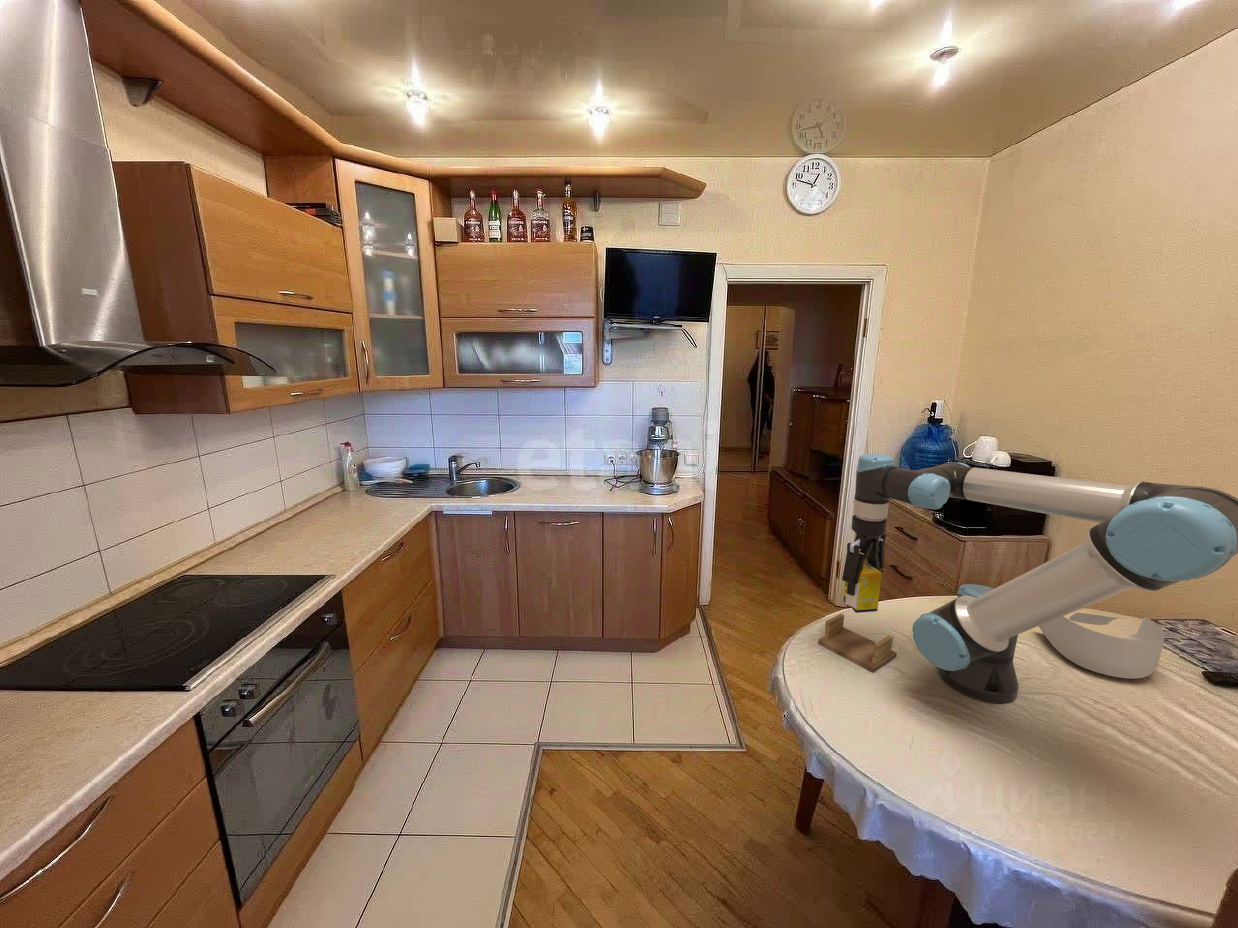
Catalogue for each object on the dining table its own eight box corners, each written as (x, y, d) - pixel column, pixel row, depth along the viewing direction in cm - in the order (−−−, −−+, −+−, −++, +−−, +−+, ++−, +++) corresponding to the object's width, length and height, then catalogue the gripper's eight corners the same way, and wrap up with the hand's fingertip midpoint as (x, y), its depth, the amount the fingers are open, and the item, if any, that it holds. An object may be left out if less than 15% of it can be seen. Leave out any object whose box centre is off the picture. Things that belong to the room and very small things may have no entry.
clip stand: (896, 656, 122) (899, 635, 121) (873, 672, 116) (875, 650, 115) (841, 630, 134) (843, 610, 133) (818, 643, 128) (819, 622, 127)
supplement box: (842, 601, 125) (846, 562, 123) (864, 599, 126) (868, 561, 123) (855, 613, 119) (859, 573, 117) (878, 611, 120) (882, 571, 117)
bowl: (1064, 675, 114) (1073, 630, 111) (1031, 632, 131) (1038, 593, 129) (1177, 695, 107) (1190, 648, 104) (1127, 647, 124) (1137, 606, 121)
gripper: (876, 504, 126) (868, 583, 131) (830, 520, 114) (823, 606, 120) (906, 512, 119) (896, 594, 125) (861, 529, 108) (852, 619, 113)
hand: (860, 600), depth 122 cm, fingers closed on supplement box, 8 cm apart
